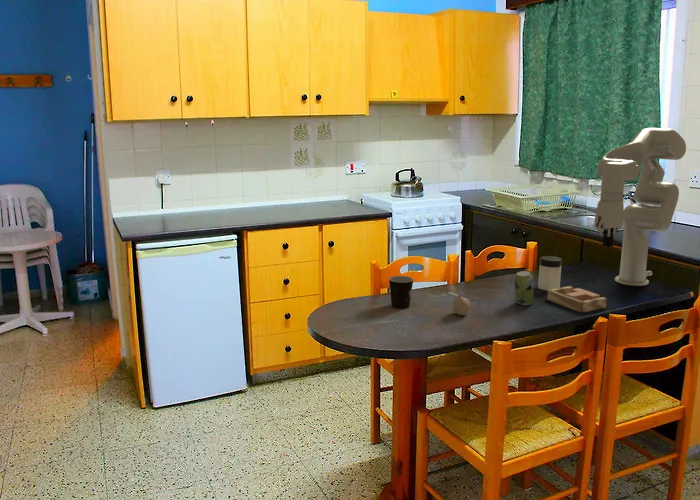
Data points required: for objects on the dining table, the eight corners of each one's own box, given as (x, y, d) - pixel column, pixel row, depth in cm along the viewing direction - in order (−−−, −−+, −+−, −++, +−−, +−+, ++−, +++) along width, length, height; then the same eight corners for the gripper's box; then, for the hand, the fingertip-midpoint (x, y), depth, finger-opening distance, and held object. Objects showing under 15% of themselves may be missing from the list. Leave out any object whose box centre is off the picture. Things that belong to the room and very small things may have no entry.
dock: (569, 294, 243) (569, 286, 242) (605, 307, 228) (606, 298, 227) (545, 299, 238) (546, 290, 237) (581, 312, 223) (582, 302, 222)
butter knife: (452, 291, 247) (446, 292, 245) (496, 308, 227) (490, 309, 225) (451, 292, 247) (446, 293, 245) (496, 309, 227) (490, 311, 225)
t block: (577, 297, 240) (578, 288, 239) (599, 304, 232) (600, 295, 231) (558, 300, 236) (558, 291, 235) (578, 308, 227) (579, 298, 226)
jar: (564, 288, 251) (567, 258, 248) (552, 292, 246) (555, 262, 243) (545, 283, 258) (547, 254, 255) (532, 287, 253) (534, 257, 250)
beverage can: (536, 303, 233) (538, 271, 230) (526, 308, 227) (528, 275, 225) (520, 300, 237) (522, 268, 234) (510, 304, 231) (512, 272, 229)
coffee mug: (399, 300, 236) (399, 274, 233) (417, 306, 230) (418, 279, 227) (377, 307, 228) (378, 280, 225) (396, 313, 222) (396, 285, 219)
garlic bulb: (447, 313, 221) (448, 291, 220) (460, 310, 225) (461, 288, 223) (461, 318, 216) (462, 296, 214) (474, 315, 220) (475, 292, 218)
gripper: (617, 193, 237) (613, 241, 241) (588, 197, 230) (584, 246, 235) (634, 196, 230) (630, 245, 235) (605, 200, 224) (601, 251, 228)
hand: (607, 246), depth 235 cm, fingers closed
